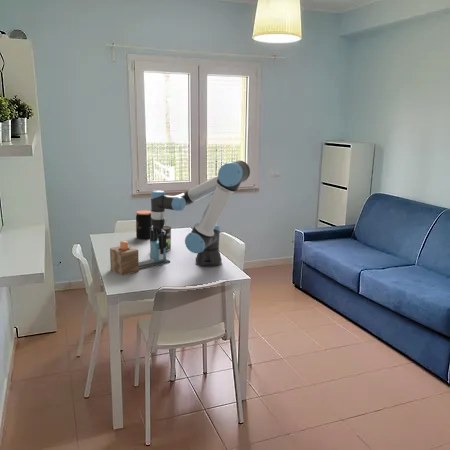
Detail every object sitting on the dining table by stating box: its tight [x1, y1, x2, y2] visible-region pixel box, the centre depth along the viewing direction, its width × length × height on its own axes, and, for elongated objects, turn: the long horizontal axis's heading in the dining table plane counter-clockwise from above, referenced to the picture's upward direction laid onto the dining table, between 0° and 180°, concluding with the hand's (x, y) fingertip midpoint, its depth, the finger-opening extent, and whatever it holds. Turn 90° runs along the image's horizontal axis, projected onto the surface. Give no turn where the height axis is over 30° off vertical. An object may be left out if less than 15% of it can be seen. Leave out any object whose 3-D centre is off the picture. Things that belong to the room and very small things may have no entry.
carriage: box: [149, 240, 167, 263], centre depth 254 cm, size 5×7×11 cm
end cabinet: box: [109, 245, 140, 276], centre depth 239 cm, size 12×11×12 cm
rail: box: [139, 257, 171, 271], centre depth 251 cm, size 8×22×3 cm, turn 133°
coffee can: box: [157, 225, 172, 252], centre depth 280 cm, size 10×10×14 cm
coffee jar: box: [135, 209, 153, 240], centre depth 304 cm, size 11×11×18 cm
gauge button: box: [119, 240, 129, 251], centre depth 238 cm, size 4×4×6 cm
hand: (158, 257), depth 255 cm, fingers closed on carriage, 5 cm apart
